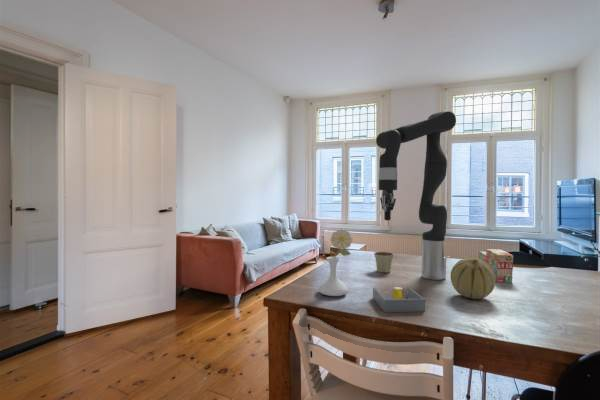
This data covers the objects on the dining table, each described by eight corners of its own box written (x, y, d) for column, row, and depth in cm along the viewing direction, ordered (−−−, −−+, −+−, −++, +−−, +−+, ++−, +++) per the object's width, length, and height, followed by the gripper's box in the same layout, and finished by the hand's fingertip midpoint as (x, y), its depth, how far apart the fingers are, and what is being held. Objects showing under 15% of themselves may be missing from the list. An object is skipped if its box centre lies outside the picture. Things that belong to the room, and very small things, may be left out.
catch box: (409, 297, 114) (409, 286, 114) (425, 311, 101) (425, 299, 101) (372, 298, 113) (373, 287, 113) (384, 312, 100) (384, 300, 100)
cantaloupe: (474, 290, 123) (475, 252, 122) (505, 303, 108) (506, 261, 108) (441, 292, 120) (441, 253, 120) (467, 306, 106) (468, 263, 105)
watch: (391, 302, 110) (391, 285, 110) (399, 302, 110) (399, 285, 110) (396, 307, 104) (396, 290, 104) (404, 307, 104) (404, 290, 104)
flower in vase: (313, 296, 115) (314, 229, 114) (323, 287, 125) (323, 226, 124) (348, 301, 110) (349, 231, 109) (355, 291, 120) (355, 227, 119)
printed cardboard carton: (478, 269, 154) (478, 245, 154) (492, 270, 153) (492, 245, 152) (496, 282, 133) (497, 254, 133) (512, 283, 132) (513, 254, 131)
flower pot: (370, 271, 149) (370, 254, 148) (377, 267, 156) (377, 250, 156) (389, 275, 143) (390, 256, 143) (396, 270, 151) (396, 253, 151)
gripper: (402, 178, 123) (402, 221, 123) (391, 179, 136) (390, 218, 136) (384, 178, 122) (383, 221, 123) (374, 179, 135) (373, 218, 136)
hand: (387, 220), depth 130 cm, fingers closed
